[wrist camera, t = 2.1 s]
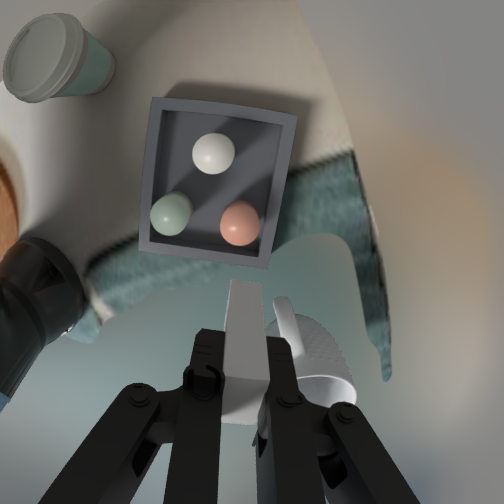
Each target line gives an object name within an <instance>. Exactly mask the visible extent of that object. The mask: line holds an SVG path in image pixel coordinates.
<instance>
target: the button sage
mask: <svg viewBox="0 0 504 504" xmlns="http://www.w3.org/2000/svg"><path fill="white" fill-rule="evenodd" d="M192 214H193V204H192V201H191V199H190V198H189V197H188V196H187V195H186V194H185V193H183V192H180V191H171V192H169V193H167V194H165V195H164V196H163V197H162V198H161V199H159V200H158V201H157V202H156V203H155V204H154V205H153V207H152V209H151V212H150V220H151V223H152V225H153V227H154V228H155V229H156V230H157V231H158V232H159V233H161V234H164V235H168V236H172V235H176V234H178V233H180V232H181V231H182V230H183V229H184V228H185V226H186V225H187V223H188V221H189V220H190V218H191V216H192Z"/></svg>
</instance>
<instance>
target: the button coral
mask: <svg viewBox="0 0 504 504" xmlns="http://www.w3.org/2000/svg"><path fill="white" fill-rule="evenodd" d="M259 230H260V224H259V218H258V213H257V210H256V208H255V207H254V206H253V205H252V204H251V203H250V202H248V201H245V200H236V201H233V202H231V203H229V204H228V205H227V206H226V207H225V209H224V211H223V214H222V218H221V222H220V231H221V234H222V236H223V237H224V239H225V240H226V241H227V242H229V243H231V244H233V245H237V246H243V245H247V244H249V243H251V242H252V241H254V240H255V238H256V237H257V236H258V233H259Z"/></svg>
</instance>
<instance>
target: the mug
mask: <svg viewBox="0 0 504 504" xmlns="http://www.w3.org/2000/svg"><path fill="white" fill-rule="evenodd" d="M272 302H273V307H274V310H275V314H276V317H277V319H276V320H274V321H273V322H272V323H270V324H269V325H268V326H267V328H266V329H265V332H266V336H273V337H283V338H285V339H286V340H287V342H288V343H289V344H290V346H291V351H292V356H293V361H294V362H293V363H294V366H295V372H296V377H297V382H298V387H299V391H301V392H302V393H303V394H304V395H305V398H306V399H307V400H308V401H310V402H312V403H314V404H317V405H321V406H324V407H328V408H330V407H331V406H332V404H334V403H336V402H343V401H345V402H349V403H352V404H354V405H355V403H356V399H357V391H356V388H355V385H354V382H353V379H352V375H351V374H350V372H349V368H348V366H347V364H346V362H345V359H344V357H343V356H342V353H341V351H340V350H339V347H338V345H337V344H336V343H335V341H334V339H333V338H332V337H331V335H330V334H329V333H328V332H327V331H326V329H325V328H323V327H322V326H321V324H319V323H317V322H316V321H315V320H313V319H311V318H309V317H306V316H303V315H298V314H294V311H293V308H292V305H291V302H290V300H289V298H288V297H285V296H280V297H277V298H275V299H274V300H273V301H272ZM257 422H258V421H257Z"/></svg>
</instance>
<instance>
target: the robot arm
mask: <svg viewBox="0 0 504 504" xmlns="http://www.w3.org/2000/svg"><path fill="white" fill-rule="evenodd" d="M83 310H84V294H83V290H82V286H81V283H80V280H79V278H78V276H77V274H76V272H75V270H74V268H73V267H72V265H71V264H70V262H69V261H68V260H67V258H66V257H65V256H64V255H63V254H62V253H61V252H60V251H59V250H58V249H57V248H55V247H54V246H53V245H51V244H50V243H48V242H46V241H44V240H42V239H38V238H25V239H23V240H21V241H19V242H18V243H16V244H15V245H13V246H12V247H11V248H10V249H9V250H8V251H7V252H6V254H5V255H4V257H3V260H2V261H1V262H0V412H1V411H2V410H3V408H4V407H5V405H6V404H7V403H9V402H10V400H11V398H12V396H13V395H14V393H15V391H16V390H17V388H18V386H19V385H20V383H21V381H22V380H23V378H24V377H25V375H26V373H27V372H28V370H29V369H30V367H31V366H32V364H33V363H34V361H35V360H36V358H37V357H38V355H39V353H40V352H41V351H42V349H43V348H44V347H45V346H46V345H47V344H49V343H51V342H53V341H54V340H56V339H57V338H59V336H63V335H65V334H67V333H68V332H70V331H71V330H72V329H73V328H74V326H75V325H76V324H77V322H78V321H79V319H80V318H81V316H82V314H83ZM293 362H294V361H293V356H292V351H291V346H290V344H289V343H288V342H287V340H286V339H285V338H283V337H273V336H266V332H265V322H264V311H263V301H262V291H261V283H257V282H250V281H243V280H235V279H231V283H230V289H229V296H228V302H227V309H226V315H225V322H224V331H216V330H210V329H203V328H202V329H201V330H200V331H199V332H198V334H196V337H195V342H194V346H193V352H192V356H191V361H190V365H189V366H188V367H186V369H185V371H184V373H183V385H182V386H180V387H179V388H177V389H175V390H171V391H161V392H157V391H156V390H155V388H153V387H151V386H150V385H148V384H143V383H133V384H130V385H127V386H126V387H125V388H124V389H122V391H121V392H120V393H119V394H118V396H117V397H116V398H115V400H114V401H113V402H112V404H111V405H110V406H109V408H108V409H107V410H106V412H105V413H104V414H103V416H102V417H101V418H100V419H99V421H98V422H97V423H96V425H95V426H94V427H93V429H92V430H91V431H90V433H89V434H88V436H87V437H86V438H85V439H84V441H83V442H82V444H81V445H80V446H79V448H78V449H77V450H76V452H75V453H74V454H73V456H72V457H71V458H70V460H69V461H68V462H67V464H66V465H65V467H64V468H63V469H62V471H61V472H60V473H59V475H58V476H57V478H56V479H55V480H54V482H53V483H52V484H51V486H50V487H49V489H48V490H47V491H46V493H45V495H44V496H43V497H42V498H41V500H40V501H39V503H38V504H130V502H131V500H132V498H133V497H134V495H135V493H136V491H137V489H138V487H139V486H140V484H141V482H142V480H143V478H144V477H145V475H146V473H147V471H148V469H149V467H150V465H151V464H152V462H153V460H154V458H155V456H156V455H157V453H158V451H159V449H160V447H161V445H162V444H164V443H173V445H172V451H171V457H170V463H169V469H168V475H167V481H166V488H165V495H164V502H163V504H217V497H218V496H217V495H218V475H219V473H218V472H219V455H220V435H221V422H225V423H235V424H247V425H255V424H256V421H258V429H257V432H256V435H255V437H254V440H253V444H252V446H255V444H256V472H257V503H258V504H326V501H325V496H326V498H327V500H328V502H329V504H420V502H419V501H418V499H417V498H416V496H415V495H414V493H413V491H412V490H411V488H410V487H409V485H408V484H407V482H406V480H405V479H404V477H403V476H402V474H401V473H400V471H399V470H398V468H397V466H396V465H395V463H394V462H393V460H392V458H391V457H390V455H389V454H388V452H387V451H386V449H385V448H384V446H383V444H382V443H381V441H380V440H379V438H378V437H377V435H376V433H375V432H374V430H373V429H372V427H371V426H370V424H369V423H368V421H367V419H366V418H365V416H364V415H363V413H362V412H361V410H360V409H359V408H358V407H357V406H355V405H354V404H352V403H349V402H345V401H343V402H336V403H334V404H332V406H331V407H330V408H328V407H324V406H321V405H317V404H314V403H312V402H310V401H308V400H307V399H306V398H305V395H304V394H303V393H302V392H301V391H299V387H298V382H297V377H296V372H295V366H294V363H293ZM324 494H325V495H324Z"/></svg>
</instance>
